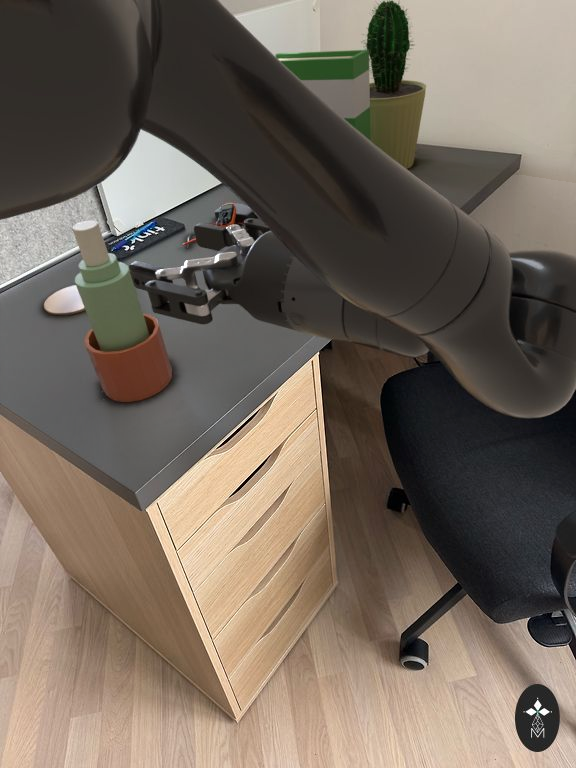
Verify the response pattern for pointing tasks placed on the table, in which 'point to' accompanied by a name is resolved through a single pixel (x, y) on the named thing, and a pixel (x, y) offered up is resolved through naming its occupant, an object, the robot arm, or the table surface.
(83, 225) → the bottle
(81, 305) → the coaster
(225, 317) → the table surface
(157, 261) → the table surface
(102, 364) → the cup
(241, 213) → the multimeter
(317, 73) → the hardback book
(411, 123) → the potted cactus
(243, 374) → the table surface
